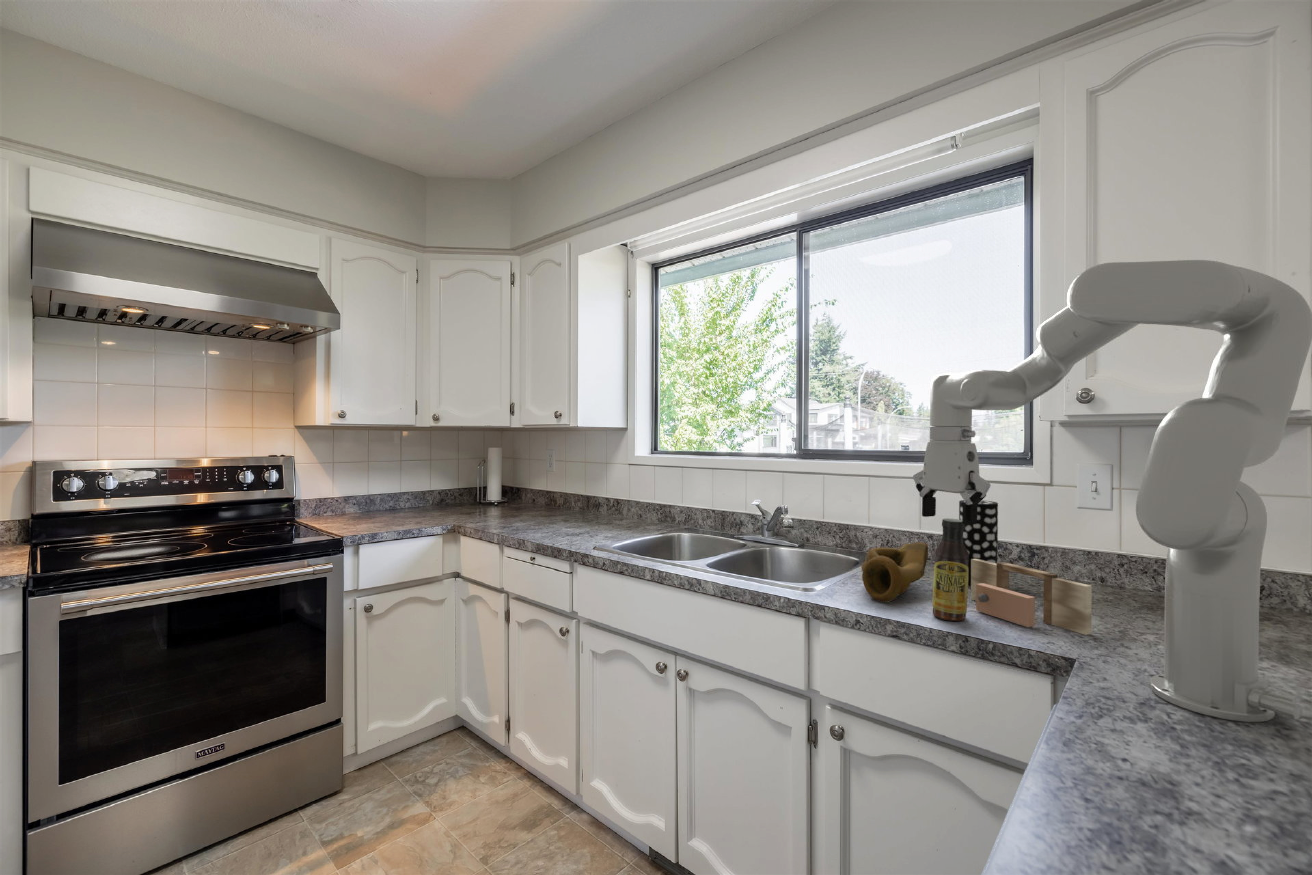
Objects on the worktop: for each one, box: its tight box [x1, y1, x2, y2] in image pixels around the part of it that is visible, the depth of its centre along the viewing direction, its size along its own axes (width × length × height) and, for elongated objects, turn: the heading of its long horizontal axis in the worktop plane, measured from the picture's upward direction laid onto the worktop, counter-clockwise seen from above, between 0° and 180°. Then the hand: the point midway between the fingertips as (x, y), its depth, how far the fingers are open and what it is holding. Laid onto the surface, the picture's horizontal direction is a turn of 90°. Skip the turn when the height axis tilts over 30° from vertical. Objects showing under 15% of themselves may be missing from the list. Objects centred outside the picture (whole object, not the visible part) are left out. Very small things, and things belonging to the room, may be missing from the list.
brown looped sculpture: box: [861, 541, 929, 603], centre depth 137 cm, size 18×13×22 cm
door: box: [975, 583, 1036, 628], centre depth 115 cm, size 11×3×6 cm, turn 22°
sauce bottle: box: [931, 518, 969, 622], centre depth 117 cm, size 7×6×20 cm
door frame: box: [970, 559, 1093, 636], centre depth 118 cm, size 24×2×10 cm, turn 22°
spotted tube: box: [958, 499, 999, 587], centre depth 142 cm, size 8×8×20 cm
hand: (948, 520), depth 117 cm, fingers open, 9 cm apart
